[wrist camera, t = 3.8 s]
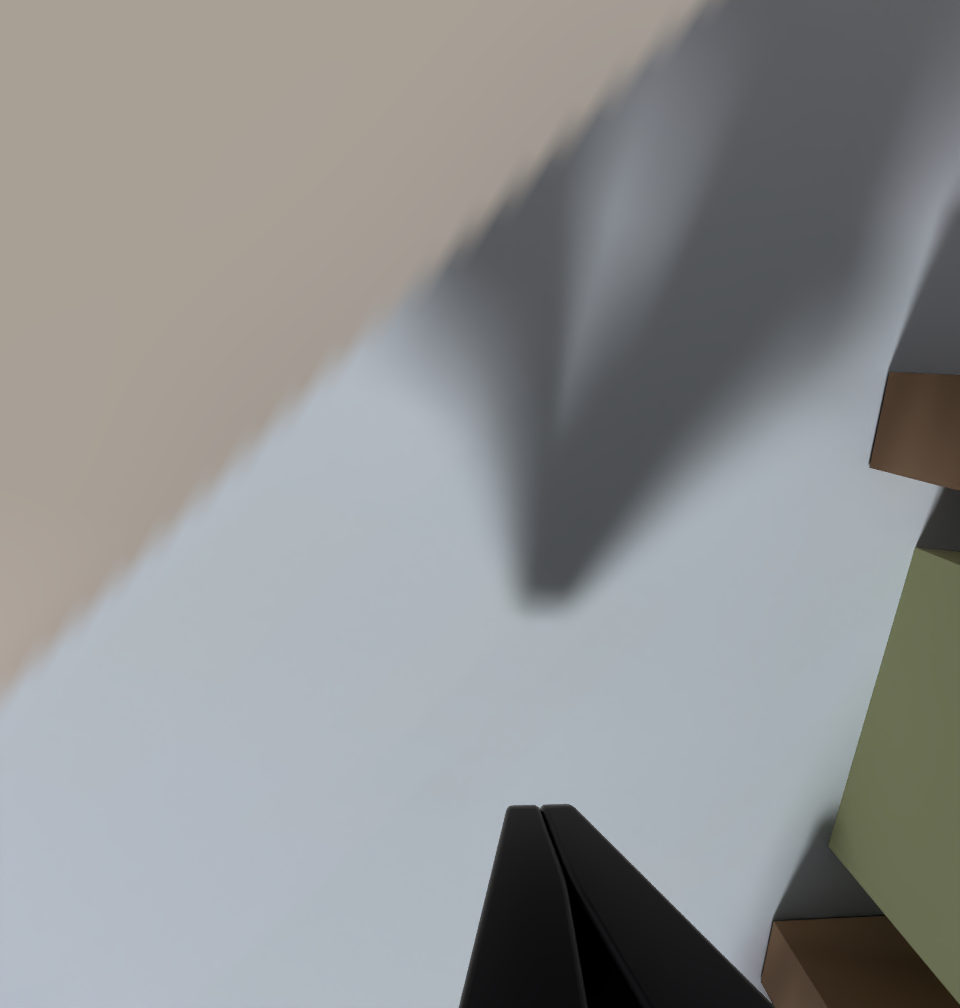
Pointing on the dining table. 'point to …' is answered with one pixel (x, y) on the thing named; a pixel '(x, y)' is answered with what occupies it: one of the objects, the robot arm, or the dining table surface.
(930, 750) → the olive block
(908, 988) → the walled lane
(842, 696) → the dining table surface
